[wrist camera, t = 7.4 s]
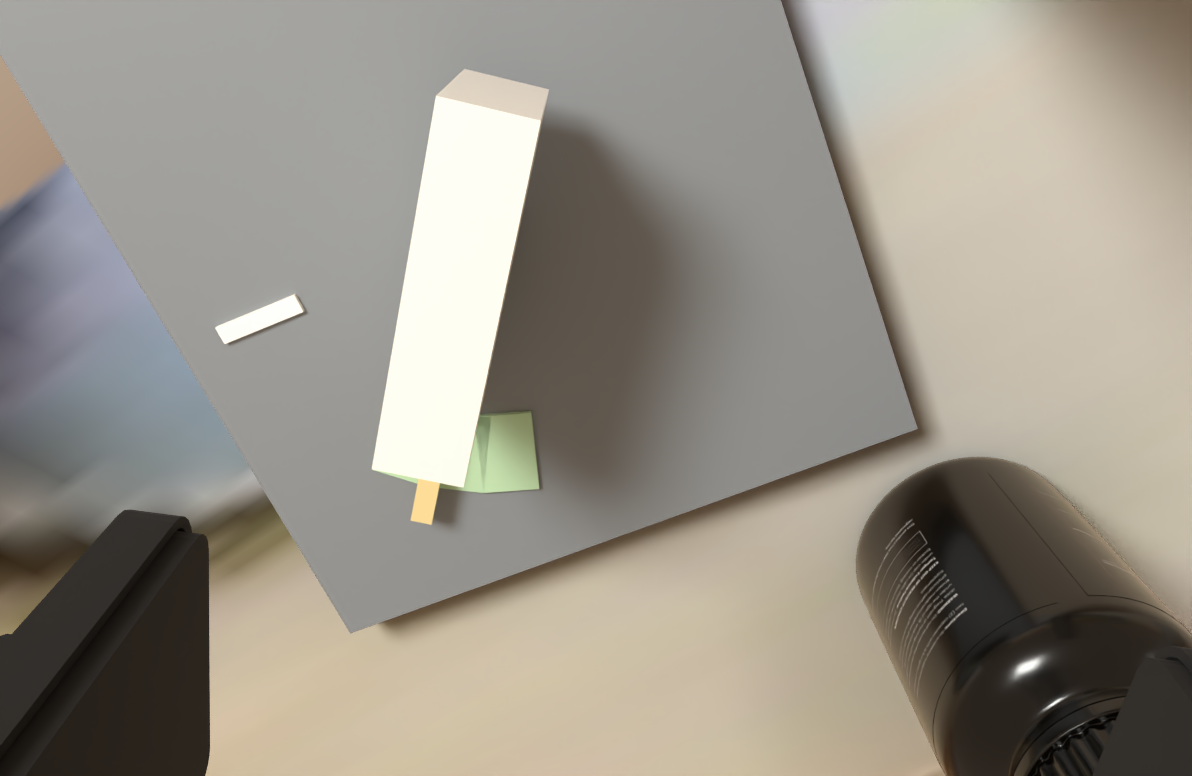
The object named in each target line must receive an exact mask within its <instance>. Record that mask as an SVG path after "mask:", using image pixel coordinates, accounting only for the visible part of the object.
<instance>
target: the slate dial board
mask: <svg viewBox="0 0 1192 776" xmlns="http://www.w3.org/2000/svg"><path fill="white" fill-rule="evenodd" d="M0 55H1V57H2V59H3V60H4V62H5V64H6V65H7V67H8V68H9V70H10V72H11V73H12V75H13V77H14V78H15V80H16V81H17V83H18V85H19V86H20V88H21V90H22V92H23V93H24V95H25V97H26V98H27V100H28V102H29V103H30V105H31V106H32V108H33V110H34V111H35V113H36V115H37V116H38V118H39V120H40V121H41V123H42V125H43V126H44V128H45V130H46V131H47V133H48V135H49V136H50V138H51V140H52V141H53V143H54V144H55V146H56V148H57V149H58V151H59V153H60V154H61V156H62V158H63V159H64V161H65V163H66V164H67V166H68V168H69V169H70V171H71V173H72V174H73V176H74V178H75V179H76V181H77V182H78V184H79V186H80V187H81V189H82V191H83V192H84V194H85V196H86V197H87V199H88V201H89V202H90V204H91V206H92V207H93V209H94V211H95V212H96V214H97V216H98V217H99V219H100V220H101V222H102V224H103V225H104V227H105V229H106V230H107V232H108V234H109V235H110V237H111V239H112V240H113V242H114V244H115V245H116V247H117V249H118V250H119V252H120V254H121V255H122V257H123V258H124V260H125V262H126V263H127V265H128V267H129V268H130V270H131V272H132V273H133V275H134V277H135V278H136V280H137V282H138V283H139V285H140V287H141V288H142V290H143V292H144V293H145V295H146V296H147V298H148V300H149V301H150V303H151V305H152V306H153V308H154V310H155V311H156V313H157V315H158V316H159V318H160V320H161V321H162V323H163V325H164V326H165V328H166V330H167V331H168V333H169V334H170V336H171V338H172V339H173V341H174V343H175V344H176V346H177V348H178V349H179V351H180V353H181V354H182V356H183V358H184V359H185V361H186V363H187V364H188V366H189V368H190V369H191V371H192V373H193V374H194V376H195V377H196V379H197V381H198V382H199V384H200V386H201V387H202V389H203V391H204V392H205V394H206V396H207V397H208V399H209V401H210V402H211V404H212V406H213V407H214V409H215V411H216V412H217V414H218V415H219V417H220V419H221V420H222V422H223V424H224V425H225V427H226V429H227V430H228V432H229V434H230V435H231V437H232V439H233V440H234V442H235V444H236V445H237V447H238V449H239V450H240V452H241V453H242V455H243V457H244V458H245V460H246V462H247V463H248V465H249V467H250V468H251V470H252V472H253V473H254V475H255V477H256V478H257V480H258V482H259V483H260V485H261V487H262V488H263V490H264V491H265V493H266V495H267V496H268V498H269V500H270V501H271V503H272V505H273V506H274V508H275V510H276V511H277V513H278V515H279V516H280V518H281V520H282V521H283V523H284V525H285V526H286V528H287V529H288V531H289V533H290V534H291V536H292V538H293V539H294V541H295V543H296V544H297V546H298V548H299V549H300V551H301V553H302V554H303V556H304V558H305V559H306V561H307V563H308V564H309V566H310V567H311V569H312V571H313V572H314V574H315V576H316V577H317V579H318V581H319V582H320V584H321V586H322V587H323V589H324V591H325V592H326V594H327V596H328V597H329V599H330V601H331V602H332V604H333V605H334V607H335V609H336V610H337V612H338V614H339V615H340V617H341V619H342V620H343V622H344V624H345V625H346V627H347V629H348V630H349V632H350V633H353V632H356V631H358V630H361V629H364V628H367V627H370V626H372V625H375V624H378V623H381V622H383V621H386V620H389V619H392V618H395V617H397V616H400V615H403V614H406V613H408V612H411V611H414V610H417V609H420V608H422V607H425V606H428V605H431V604H433V603H436V602H439V601H442V600H444V599H447V598H450V597H453V596H456V595H458V594H461V593H464V592H467V591H469V590H472V589H475V588H478V587H481V586H483V585H486V584H489V583H492V582H494V581H497V580H500V579H503V578H506V577H508V576H511V575H514V574H517V573H519V572H522V571H525V570H528V569H530V568H533V567H536V566H539V565H542V564H544V563H547V562H550V561H553V560H555V559H558V558H561V557H564V556H567V555H569V554H572V553H575V552H578V551H580V550H583V549H586V548H589V547H592V546H594V545H597V544H600V543H603V542H605V541H608V540H611V539H614V538H616V537H619V536H622V535H625V534H628V533H630V532H633V531H636V530H639V529H641V528H644V527H647V526H650V525H653V524H655V523H658V522H661V521H664V520H666V519H669V518H672V517H675V516H678V515H680V514H683V513H686V512H689V511H691V510H694V509H697V508H700V507H702V506H705V505H708V504H711V503H714V502H716V501H719V500H722V499H725V498H727V497H730V496H733V495H736V494H739V493H741V492H744V491H747V490H750V489H752V488H755V487H758V486H761V485H764V484H766V483H769V482H772V481H775V480H777V479H780V478H783V477H786V476H788V475H791V474H794V473H797V472H800V471H802V470H805V469H808V468H811V467H813V466H816V465H819V464H822V463H825V462H827V461H830V460H833V459H836V458H838V457H841V456H844V455H847V454H850V453H852V452H855V451H858V450H861V449H863V448H866V447H869V446H872V445H874V444H877V443H880V442H883V441H886V440H888V439H891V438H894V437H897V436H899V435H902V434H905V433H908V432H911V431H913V430H916V429H918V428H917V425H916V422H915V419H914V416H913V413H912V409H911V406H910V403H909V400H908V397H907V394H906V391H905V387H904V384H903V381H902V378H901V375H900V372H899V369H898V366H897V362H896V359H895V356H894V353H893V350H892V347H891V344H890V341H889V337H888V334H887V331H886V328H885V325H884V322H883V319H882V315H881V312H880V309H879V306H878V303H877V300H876V297H875V294H874V290H873V287H872V284H871V281H870V278H869V275H868V272H867V268H866V265H865V262H864V259H863V256H862V253H861V250H860V247H859V243H858V240H857V237H856V234H855V231H854V228H853V225H852V221H851V218H850V215H849V212H848V209H847V206H846V203H845V200H844V196H843V193H842V190H841V187H840V184H839V181H838V178H837V175H836V171H835V168H834V165H833V162H832V159H831V156H830V153H829V149H828V146H827V143H826V140H825V137H824V134H823V131H822V128H821V124H820V121H819V118H818V115H817V112H816V109H815V106H814V102H813V99H812V96H811V93H810V90H809V87H808V84H807V81H806V77H805V74H804V71H803V68H802V65H801V62H800V59H799V55H798V52H797V49H796V46H795V43H794V40H793V37H792V34H791V30H790V27H789V24H788V21H787V18H786V15H785V12H784V8H783V5H782V2H781V0H0ZM464 69H467V70H471V71H475V72H480V73H484V74H488V75H492V76H496V77H500V78H504V79H508V80H513V81H517V82H521V83H525V84H529V85H533V86H537V87H541V88H546V89H549V92H548V97H547V101H546V106H545V111H544V116H543V120H542V125H541V130H540V134H539V139H538V144H537V149H536V153H535V158H534V163H533V167H532V172H531V177H530V182H529V186H528V191H527V196H526V200H525V205H524V210H523V215H522V219H521V224H520V229H519V234H518V239H517V244H516V248H515V252H514V257H513V262H512V267H511V271H510V276H509V281H508V285H507V290H506V295H505V300H504V304H503V309H502V314H501V318H500V323H499V328H498V333H497V337H496V342H495V347H494V351H493V356H492V361H491V366H490V370H489V375H488V380H487V384H486V389H485V394H484V398H483V403H482V407H481V412H480V416H479V421H478V425H477V429H476V434H475V438H474V443H473V447H472V452H471V456H470V460H469V465H468V469H467V474H466V478H465V483H464V487H463V488H462V487H457V486H452V485H447V484H442V483H440V487H439V492H438V497H437V502H436V507H435V512H434V517H433V521H432V525H430V524H425V523H420V522H415V521H410V520H411V515H412V510H413V505H414V500H415V494H416V489H417V484H418V478H413V477H408V476H403V475H398V474H393V473H388V472H383V471H378V470H373V469H372V464H373V459H374V453H375V447H376V441H377V435H378V430H379V424H380V418H381V412H382V406H383V401H384V395H385V389H386V383H387V377H388V371H389V366H390V360H391V354H392V348H393V342H394V337H395V331H396V325H397V319H398V313H399V308H400V302H401V296H402V290H403V284H404V279H405V273H406V267H407V261H408V255H409V250H410V244H411V238H412V232H413V226H414V220H415V215H416V209H417V203H418V197H419V191H420V186H421V180H422V174H423V168H424V162H425V157H426V151H427V145H428V139H429V133H430V128H431V122H432V116H433V110H434V104H435V98H436V95H437V94H438V93H439V92H440V91H441V90H443V89H444V88H445V87H446V86H447V85H448V84H449V83H450V82H451V81H452V80H453V79H454V78H455V77H456V76H457V75H458V74H459V73H461V72H462V71H463V70H464Z"/></svg>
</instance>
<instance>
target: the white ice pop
mask: <svg viewBox="0 0 1192 776" xmlns="http://www.w3.org/2000/svg"><path fill="white" fill-rule="evenodd" d="M548 92H549V89H546V88H541V87H537V86H533V85H529V84H525V83H521V82H517V81H513V80H508V79H504V78H500V77H496V76H492V75H488V74H484V73H480V72H475V71H471V70H467V69H464V70H463V71H462V72H461V73H459V74H458V75H457V76H456V77H455V78H454V79H453V80H452V81H451V82H450V83H449V84H448V85H447V86H446V87H445V88H444V89H443V90H441V91H440V92H439V93H438V94H437V95H436V98H435V104H434V110H433V116H432V122H431V128H430V133H429V139H428V145H427V151H426V157H425V162H424V168H423V174H422V180H421V186H420V191H419V197H418V203H417V209H416V215H415V220H414V226H413V232H412V238H411V244H410V250H409V255H408V261H407V267H406V273H405V279H404V284H403V290H402V296H401V302H400V308H399V313H398V319H397V325H396V331H395V337H394V342H393V348H392V354H391V360H390V366H389V371H388V377H387V383H386V389H385V395H384V401H383V406H382V412H381V418H380V424H379V430H378V435H377V441H376V447H375V453H374V459H373V464H372V469H373V470H378V471H383V472H388V473H393V474H398V475H403V476H408V477H413V478H418V484H417V489H416V494H415V500H414V505H413V510H412V515H411V520H410V521H415V522H420V523H425V524H430V525H432V521H433V517H434V512H435V507H436V502H437V497H438V492H439V487H440V483H442V484H447V485H452V486H457V487H462V488H463V487H464V483H465V478H466V474H467V469H468V465H469V460H470V456H471V452H472V447H473V443H474V438H475V434H476V429H477V425H478V421H479V416H480V412H481V407H482V403H483V398H484V394H485V389H486V384H487V380H488V375H489V370H490V366H491V361H492V356H493V351H494V347H495V342H496V337H497V333H498V328H499V323H500V318H501V314H502V309H503V304H504V300H505V295H506V290H507V285H508V281H509V276H510V271H511V267H512V262H513V257H514V252H515V248H516V244H517V239H518V234H519V229H520V224H521V219H522V215H523V210H524V205H525V200H526V196H527V191H528V186H529V182H530V177H531V172H532V167H533V163H534V158H535V153H536V149H537V144H538V139H539V134H540V130H541V125H542V120H543V116H544V111H545V106H546V101H547V97H548Z"/></svg>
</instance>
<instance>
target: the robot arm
mask: <svg viewBox="0 0 1192 776" xmlns="http://www.w3.org/2000/svg"><path fill="white" fill-rule="evenodd" d="M209 752H210V692H209V548H208V541H207V538H206V536H205V535H204V534H197V533H192V531H191V526H190V523H189V520H188V519H187V518H186V517H182V516H175V515H167V514H159V513H152V512H144V511H136V510H124V511H123V512H121V513H120V514H119V515H118V516H117V517H116V518H115V519H114V520H113V521H112V523H111V524H110V525H109V526H108V527H107V528H106V529H105V530H104V532H103V533H102V534H101V535H100V536H99V537H98V538H97V539H96V541H95V542H94V543H93V544H92V545H91V546H90V547H89V548H88V549H87V551H86V552H85V553H84V554H83V555H82V556H81V557H80V558H79V560H78V561H77V562H76V563H75V564H74V565H73V566H72V567H71V569H70V570H69V571H68V572H67V573H66V574H65V575H64V576H63V577H62V579H61V580H60V581H59V582H58V583H57V584H56V585H55V586H54V588H53V589H52V590H51V591H50V592H49V593H48V594H47V595H46V597H45V598H44V599H43V600H42V601H41V602H40V603H39V604H38V606H37V607H36V608H35V609H34V610H33V611H32V612H31V613H30V614H29V616H28V617H27V618H26V619H25V620H24V621H23V622H22V623H21V625H20V626H19V627H18V628H17V629H16V630H15V631H14V632H13V634H5V635H2V636H0V776H205V774H206V770H207V766H208V760H209ZM1093 776H1192V648H1186V647H1179V646H1168V647H1164V648H1163V649H1162V650H1161V651H1159V652H1158V653H1157V654H1156V656H1155V658H1148V659H1145V660H1144V661H1143V662H1142V663H1141V664H1140V666H1139V667H1138V669H1137V671H1136V673H1135V676H1134V678H1133V681H1132V683H1131V685H1130V688H1129V690H1128V692H1127V695H1126V697H1125V700H1124V702H1123V704H1122V707H1121V709H1120V712H1119V714H1118V716H1117V719H1116V721H1115V723H1114V726H1113V728H1112V731H1111V733H1110V735H1109V738H1108V740H1107V743H1106V745H1105V747H1104V750H1103V752H1102V754H1101V757H1100V759H1099V762H1098V764H1097V766H1096V769H1095V771H1094V773H1093Z"/></svg>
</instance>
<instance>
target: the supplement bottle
mask: <svg viewBox="0 0 1192 776" xmlns="http://www.w3.org/2000/svg"><path fill="white" fill-rule="evenodd" d="M856 574H857V581H858V585H859V589H860V592H861V595H862V597H863V600H864V602H865V605H866V607H867V609H868V611H869V614H870V616H871V619H872V621H873V623H874V625H875V627H876V629H877V631H878V634H879V636H880V638H881V640H882V642H883V644H884V646H885V649H886V651H887V653H888V655H889V657H890V659H891V661H892V664H893V666H894V668H895V670H896V672H897V674H898V676H899V679H900V681H901V683H902V685H903V687H904V689H905V691H906V694H907V696H908V698H909V700H910V702H911V704H912V706H913V709H914V711H915V713H916V715H917V717H918V719H919V721H920V724H921V726H922V728H923V730H924V732H925V734H926V736H927V739H928V741H929V743H930V745H931V747H932V749H933V751H934V754H935V756H936V758H937V760H938V762H939V764H940V766H941V768H942V770H943V771H944V773H945V775H946V776H1093V773H1094V771H1095V769H1096V766H1097V764H1098V762H1099V759H1100V757H1101V754H1102V752H1103V750H1104V747H1105V745H1106V743H1107V740H1108V738H1109V735H1110V733H1111V731H1112V728H1113V726H1114V723H1115V721H1116V719H1117V716H1118V714H1119V712H1120V709H1121V707H1122V704H1123V702H1124V700H1125V697H1126V695H1127V692H1128V690H1129V688H1130V685H1131V683H1132V681H1133V678H1134V676H1135V673H1136V671H1137V669H1138V667H1139V666H1140V664H1141V663H1142V662H1143V661H1144V660H1145V659H1148V658H1155V656H1156V654H1157V653H1158V652H1159V651H1161V650H1162V649H1163V648H1164V647H1168V646H1179V647H1186V648H1192V634H1191V633H1190V632H1189V631H1188V630H1187V629H1186V627H1185V626H1184V625H1183V624H1182V623H1181V622H1180V621H1179V620H1178V619H1177V618H1176V617H1175V616H1174V615H1173V613H1172V612H1171V611H1170V610H1169V609H1168V608H1167V607H1166V606H1165V605H1164V604H1163V603H1162V602H1161V601H1160V599H1159V598H1158V597H1157V596H1156V595H1155V594H1154V593H1153V592H1152V591H1151V590H1150V589H1149V588H1148V587H1147V586H1146V584H1145V583H1144V582H1143V581H1142V580H1141V579H1140V578H1139V577H1138V576H1137V575H1136V574H1135V573H1134V572H1133V570H1132V569H1131V568H1130V567H1129V566H1128V565H1127V564H1126V563H1125V562H1124V561H1123V560H1122V559H1121V558H1120V557H1119V555H1118V554H1117V553H1116V552H1115V551H1114V550H1113V549H1112V548H1111V547H1110V546H1109V545H1108V544H1107V543H1106V541H1105V540H1104V539H1103V538H1102V537H1101V536H1100V535H1099V534H1098V533H1097V532H1096V531H1095V530H1094V529H1093V527H1092V526H1091V525H1090V524H1089V523H1088V522H1087V521H1086V520H1085V519H1084V518H1083V517H1082V516H1081V515H1080V514H1079V512H1078V511H1077V510H1076V509H1075V508H1074V507H1073V506H1072V505H1071V504H1070V503H1069V502H1068V501H1067V500H1066V499H1065V498H1064V497H1063V496H1062V495H1061V494H1060V493H1059V492H1058V491H1057V490H1056V489H1055V488H1054V487H1053V486H1052V485H1051V484H1050V483H1049V482H1048V481H1046V480H1045V479H1044V478H1043V477H1042V476H1040V475H1038V474H1037V473H1035V472H1034V471H1032V470H1030V469H1028V468H1026V467H1024V466H1022V465H1019V464H1016V463H1014V462H1010V461H1007V460H1003V459H997V458H989V457H968V458H959V459H953V460H948V461H945V462H941V463H938V464H935V465H932V466H930V467H927V468H925V469H923V470H921V471H919V472H917V473H915V474H913V475H912V476H910V477H908V478H907V479H905V480H904V481H902V482H901V483H900V484H898V485H897V486H896V487H895V488H893V489H892V490H891V491H890V492H889V493H888V494H887V495H886V496H885V497H884V498H883V499H882V500H881V502H880V503H879V504H878V505H877V507H876V508H875V509H874V511H873V512H872V514H871V515H870V517H869V519H868V521H867V522H866V524H865V527H864V529H863V531H862V534H861V537H860V540H859V544H858V548H857V556H856Z"/></svg>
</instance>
